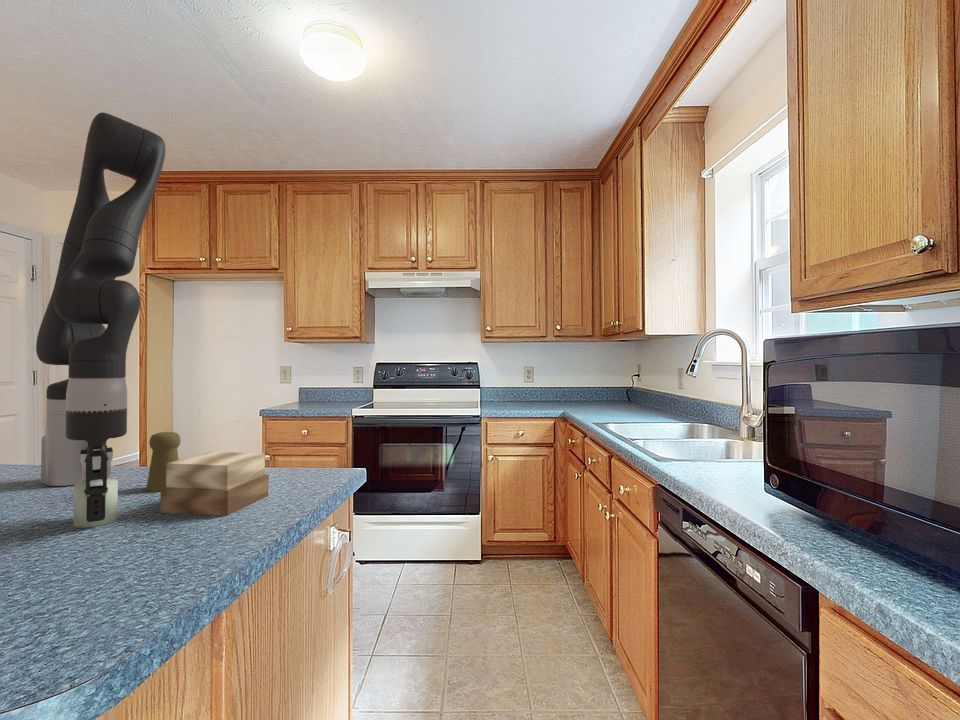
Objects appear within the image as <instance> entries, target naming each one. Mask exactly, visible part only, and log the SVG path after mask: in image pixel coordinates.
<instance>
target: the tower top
mask: <svg viewBox="0 0 960 720" xmlns="http://www.w3.org/2000/svg"><path fill="white" fill-rule="evenodd" d="M265 459H266V453H263V452H262V453H261V452H233V451H231V452H230V451H208V452H203V453H200V454H198V455H191V456H188V457H185V458H181V459H179V460H177V461H173V462H170V463H166V487H171V488H195V489H218V490H228V489H231V488H233V487H236V486H238V485H241V484H243V483H246V482H248V481H251V480H253V479H256V478H258V477H261V476H263V475H265V473H266V472H265V471H266V469H265V468H266V467H265V466H266V463H265V462H266V461H265Z"/></svg>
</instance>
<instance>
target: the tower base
mask: <svg viewBox="0 0 960 720" xmlns="http://www.w3.org/2000/svg"><path fill="white" fill-rule="evenodd" d="M269 476H270V475H269V474H268V473H267V474H265V475H263V476H261V477H258V478H256V479H253V480H251V481H248V482H246V483H243V484H241V485H238V486H236V487H233V488H231V489H228V490H218V489H195V488H171V487H163V488H161V492H160V513H163V514H164V513H165V514H166V513H167V514H169V513H170V514H185V515H186V514H187V515H203V514H206V515H207V516H222V517H223V516H225V517H228V516H230V515H232V514H234V513H236V512H238V511H240V510H242V509H245V508H247V507H248V506H251V505H252V504H255V503H256V502H259V501H261V500H263V499H265V498H267V497H269V482H270V481H269V480H270V479H269ZM206 515H205V516H206Z"/></svg>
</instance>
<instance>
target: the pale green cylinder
mask: <svg viewBox="0 0 960 720" xmlns="http://www.w3.org/2000/svg"><path fill="white" fill-rule="evenodd" d="M101 485H102V486H103V482H102V481H92V482H91V483H90V487H93V486H101ZM107 487H108V492H107V493H106V495H105V518H104V519H103V520H101V521H94V522H88V521H87V520H86V517H87V497H86V495H85V493H84V490H86V483H85V482H81V483H78V484H75V485H73V504H72V505H73V511H72V515H73V517H72V519H73V520H72V526H73V527H74V528H79V529H80V528H81V529H82V528H85V529H86V528H94V527H100V526H106V525H108V524H109V525H110V524H112V523H114V522H116V521H117V520H118V515H119V514H118V510H119V509H118V508H119V507H118V504H119V503H118V502H119V501H118V500H119V493H118V491H119V480H118V479H114V478H112V479H111V478H110V479H109V480H107Z"/></svg>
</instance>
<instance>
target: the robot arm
mask: <svg viewBox="0 0 960 720" xmlns="http://www.w3.org/2000/svg"><path fill="white" fill-rule="evenodd" d="M165 159H166V143H165V141H164V139H163V138H162V137H161V135H158V134H156V133H155V132H153V131H150V130H148V129H146V128H143V127H141V126H139V125H137V124H134V123H132V122H129V121H127V120H125V119H122V118H120V117H117V116H115V115H112V114H110V113H107V112H104V111H103V112H99V113H97V114H96V115H95V116H94V117H93V119H92V121H91V124H90V126H89V130H88V134H87V137H86V143H85V150H84V155H83V159H82V168H81V173H80V179H79V183H78V184H79V185H78V190H77V194H76V199H75V202H74V206H73V209H72V212H71V217H70V218H69V219H70V220H69V222H68V226H67V229H66V233H65V237H64V241H63V245H62V249H61V254H60V257H59V258H60V259H59V262H58V268H57V269H58V270H57V273H56V278H55V282H54V286H53V289H52V293H51V295H50V299H49V301H48V303H47V304H48V305H47V307H46V310H45V312H44V315H43V318H42V320H41V323H40V326H39V330H38V333H37V337H36V343H35V351H36V357H37V358H38V360H39V361H40V362H41V363H43V364H46V365H50V366H51V365H52V366H68V378H67V379H64V380H61V381H58V382H54V383H50V384H49V385H48V386H47V387H46V395H45V396H46V407H45V408H46V409H45V410H46V412H45V414H46V415H45V417H46V419H45V420H46V421H45V435H43V436H41V441H40V442H41V444H40V445H41V449H40V450H41V453H40V456H41V457H40V461H41V462H40V484H44V485H46V486H49V487H50V486H51V487H63V486H64V487H65V486H74V485H75V484H78V483H81V482H85V483H86V490H84V493H85V495H86V497H87V517H86V520H87V521H88V522H94V521H101V520H103V519H104V518H105V495H106V493H107V492H108V487H107V480H109V479H111V477H112V476H111V475H112V472H111V467H112V464H111V463H112V461H113V460H114V459H113V457H114V450H113V447H112V446H109V447H108V445H107V442H108V440H110V439H116V438H117V439H118V438H121V437H123V436H125V435H127V432H128V387H127V380H126V376H127V375H126V373H127V371H126V367H127V366H126V365H127V364H126V362H127V351H128V346H129V342H130V339H131V334H132V332H133V329H134V326H135V325H136V321H137V318H138V315H139V312H140V309H141V297H140V293H139V291H138V290H137V288H136V287H135V285H133V284H132V283H130V282H129V281H126V280H121V279H120V280H119V279H116V278H120V277H123V276H126V275H128V274H130V273H131V272H132V271H133V268H134V266H135V263H136V262H135V261H136V255H137V251H138V246H139V238H140V235H141V230H142V228H143V224H144V222H145V218H146V216H147V213H148V212H149V211H148V210H149V208H150V206H151V204H152V201H153V197H154V194H155V192H156V189H157V185H158V183H159V181H160V177H161V172H162V171H163V166H164V163H165ZM105 170H108V171H110V172H113V173H116V174H119V175H122V176H124V177H127V178H130V179H132V180H136V181H135V182H134V184H132V186H131V187H130V188H129V189H128V190H127V191H125V192H124V193H122V194H120V195H119V196H117V197H116V198H115V197H114V198H113V199H112V200H110V198H109V197H110V196H109V195H108V192H107V185H106V182H105ZM105 325H107V326H106V327H105ZM92 481H102V482H103V486H102V485H101V486H93V487H90V483H91V482H92Z"/></svg>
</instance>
